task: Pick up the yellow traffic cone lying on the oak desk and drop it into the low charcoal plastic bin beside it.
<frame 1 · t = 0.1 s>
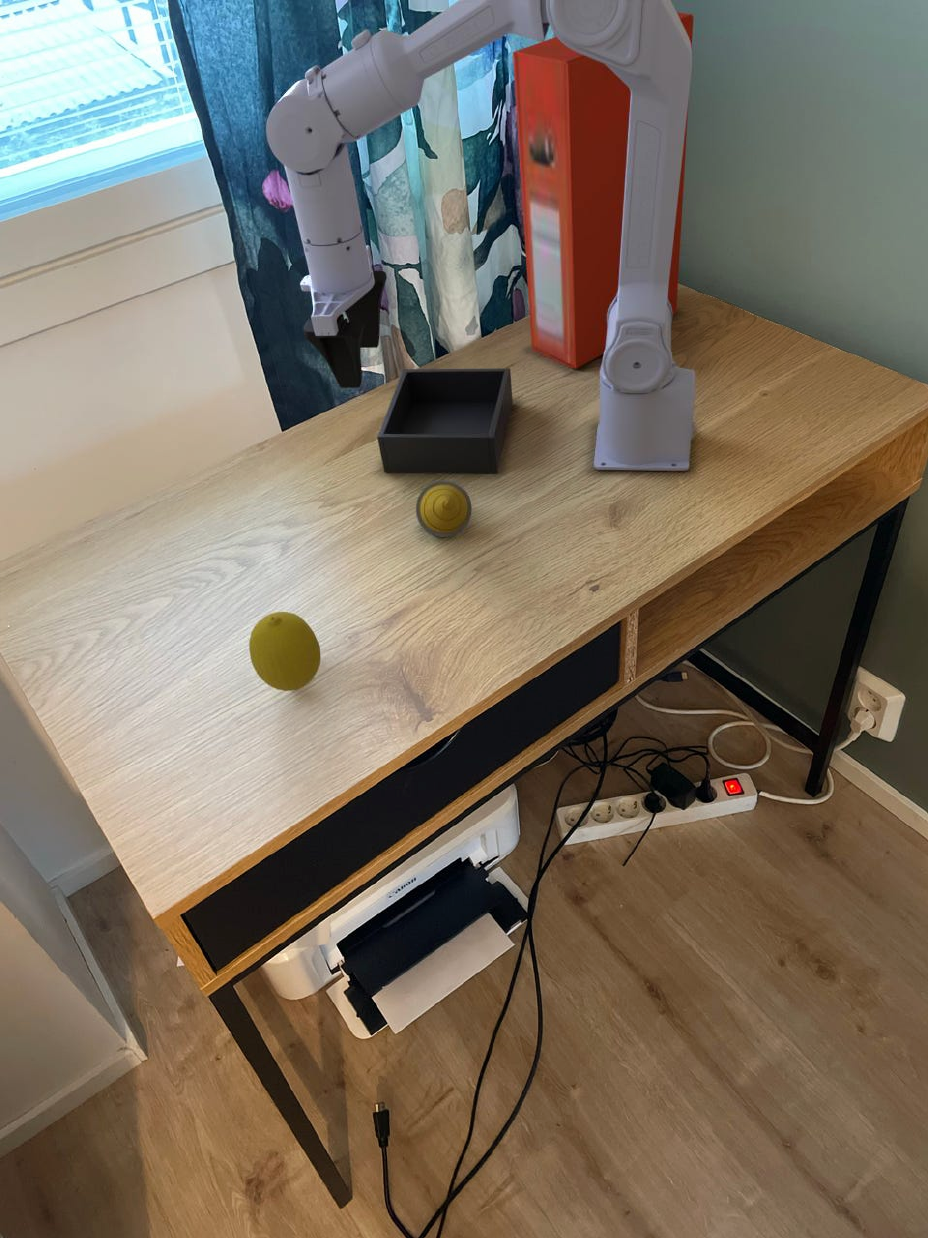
hand: (360, 365, 92), 10 cm above the table, tool pointing down, fingers open, 7 cm apart
lemon: (297, 685, 76), on the table
yellow traffic cone: (453, 533, 88), on the table
bin: (450, 436, 99), on the table
file binder: (603, 332, 111), on the table
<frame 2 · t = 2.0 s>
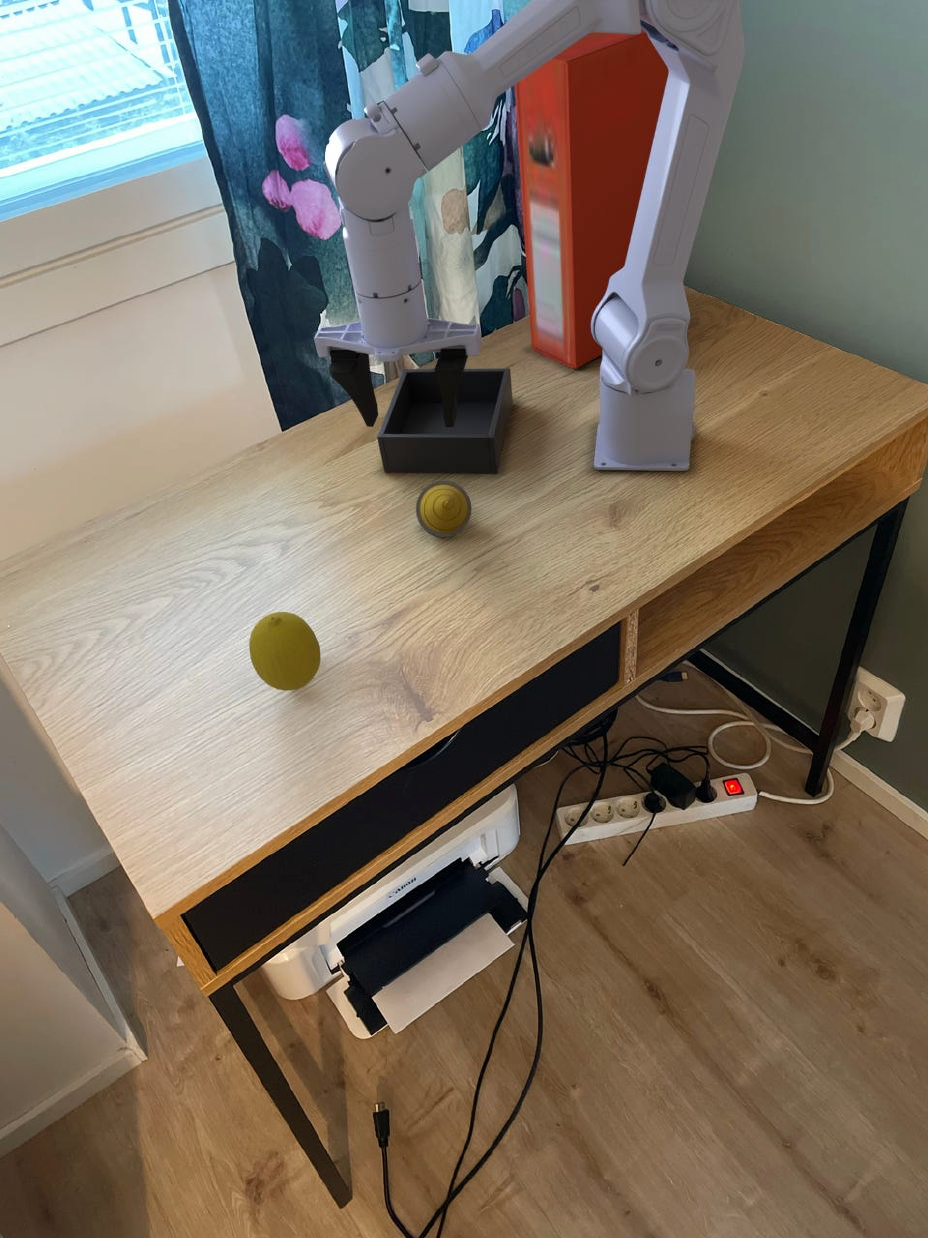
hand: (411, 421, 84), 10 cm above the table, tool pointing down, fingers open, 7 cm apart
nothing on the table moved.
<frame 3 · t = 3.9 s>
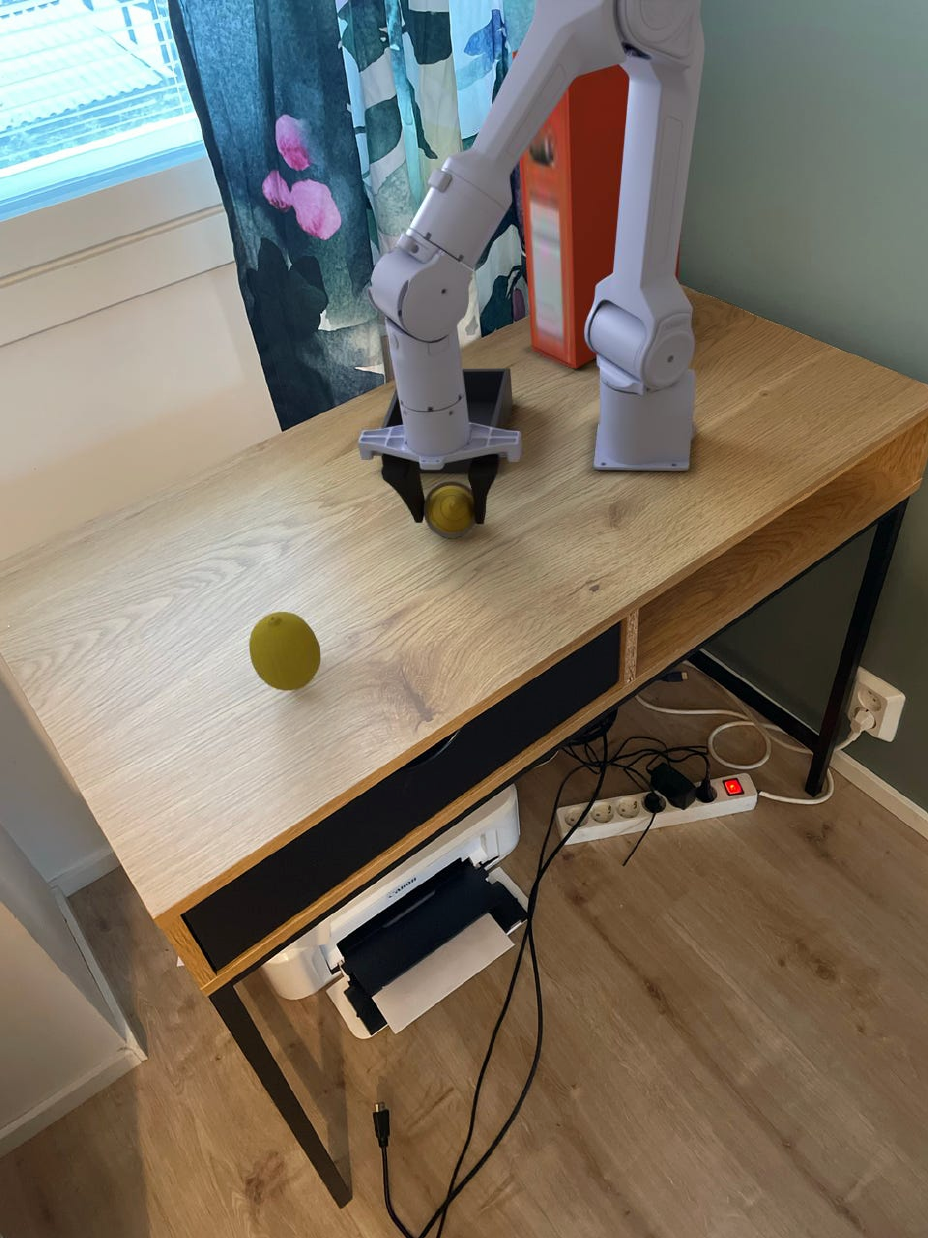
hand: (450, 517, 86), 2 cm above the table, tool pointing down, fingers closed on yellow traffic cone, 5 cm apart
yellow traffic cone: (460, 534, 87), on the table, touching gripper
everything else where it was.
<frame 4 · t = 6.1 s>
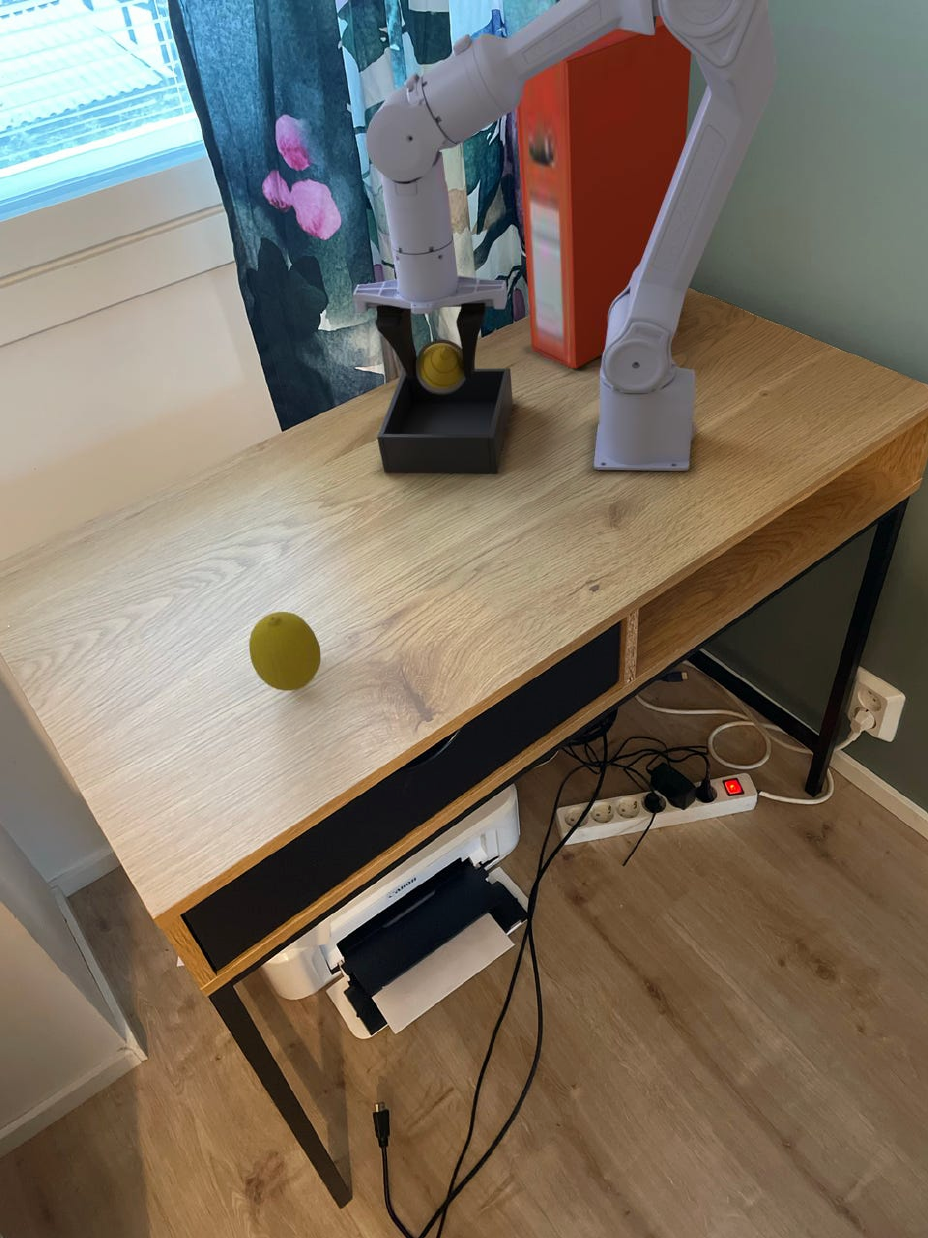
hand: (440, 373, 91), 9 cm above the table, tool pointing down, fingers closed on yellow traffic cone, 5 cm apart
yellow traffic cone: (450, 392, 93), point 7 cm above the table, touching gripper
everything else where it was.
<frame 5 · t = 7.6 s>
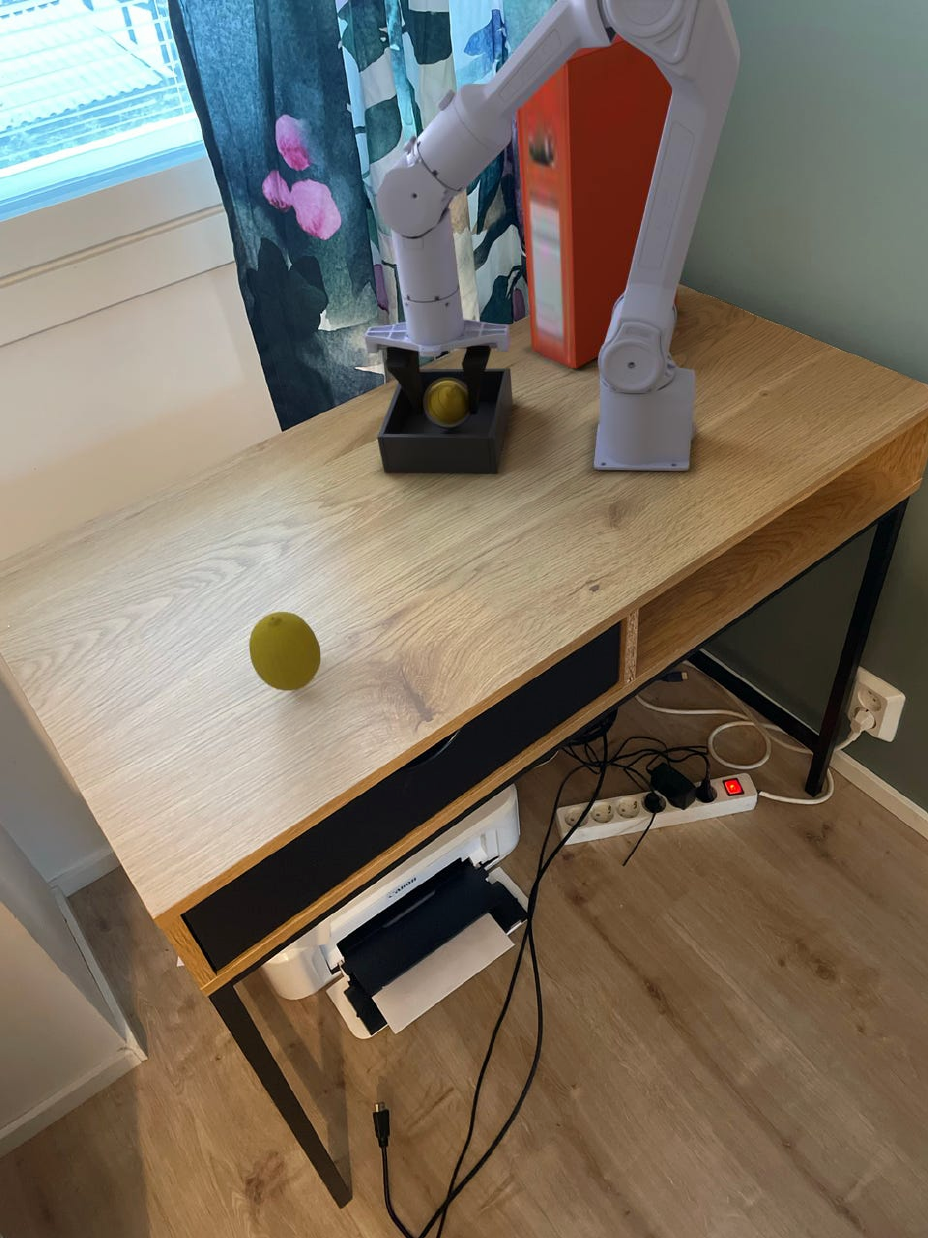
hand: (446, 409, 96), 4 cm above the table, tool pointing down, fingers closed on yellow traffic cone, 5 cm apart
yellow traffic cone: (456, 426, 98), point 1 cm above the table, touching gripper
everything else where it was.
when the fingers open (2 cm above the table, at t = 8.5 s): yellow traffic cone stays where it is, resting on bin.
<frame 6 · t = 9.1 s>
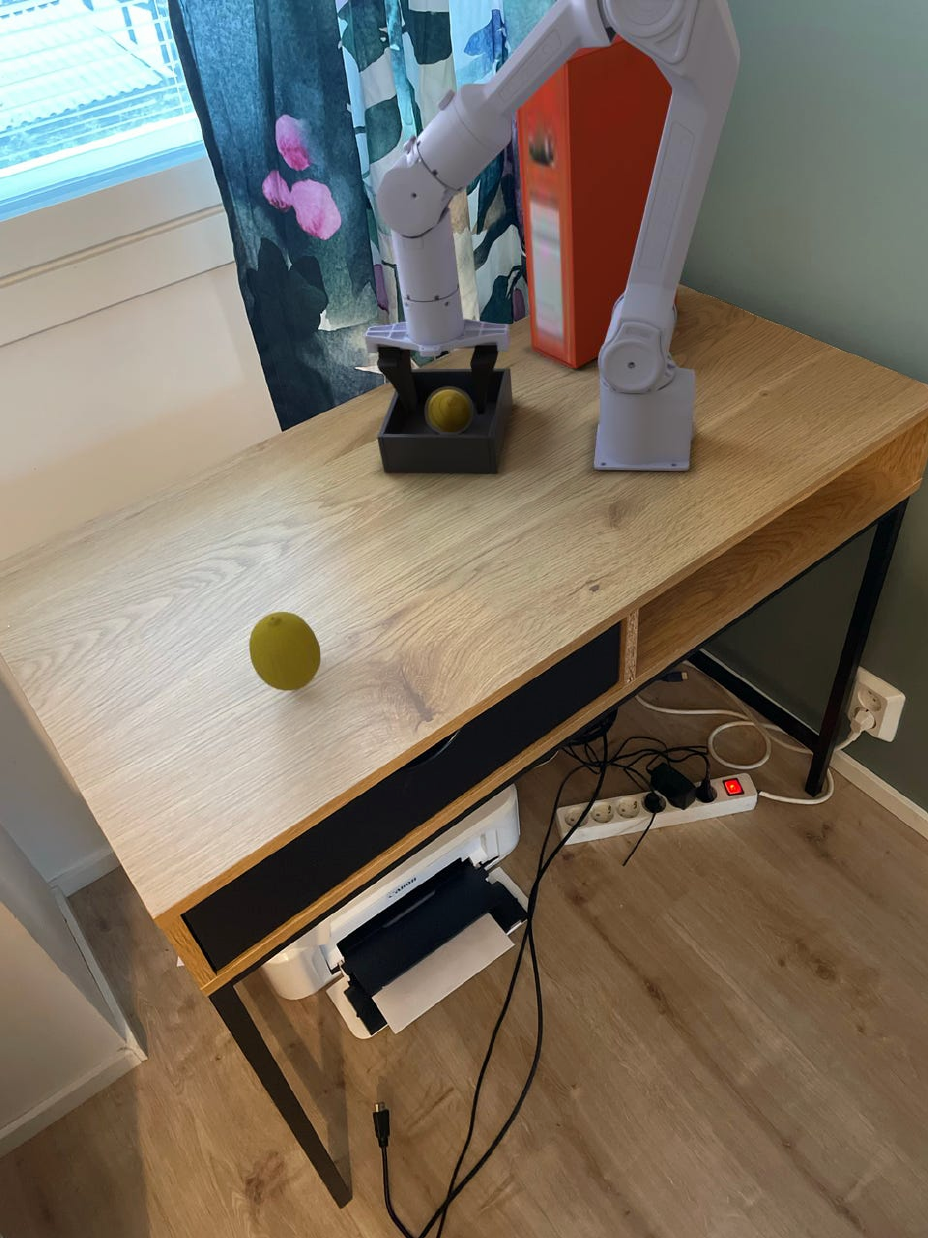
hand: (447, 409, 96), 4 cm above the table, tool pointing down, fingers open, 7 cm apart
yellow traffic cone: (457, 434, 98), resting on bin
everything else where it was.
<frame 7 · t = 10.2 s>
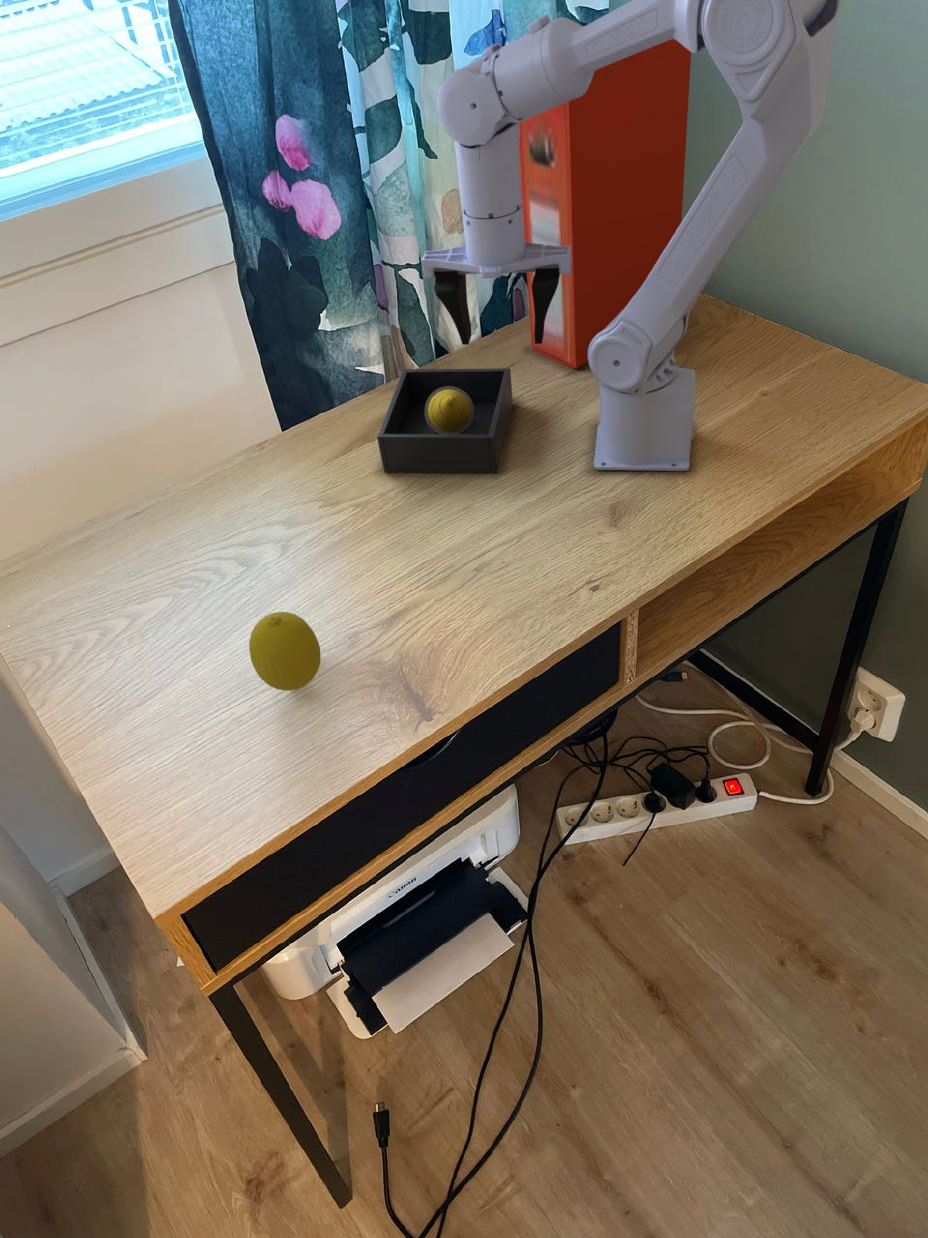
hand: (502, 339, 94), 9 cm above the table, tool pointing down, fingers open, 7 cm apart
nothing on the table moved.
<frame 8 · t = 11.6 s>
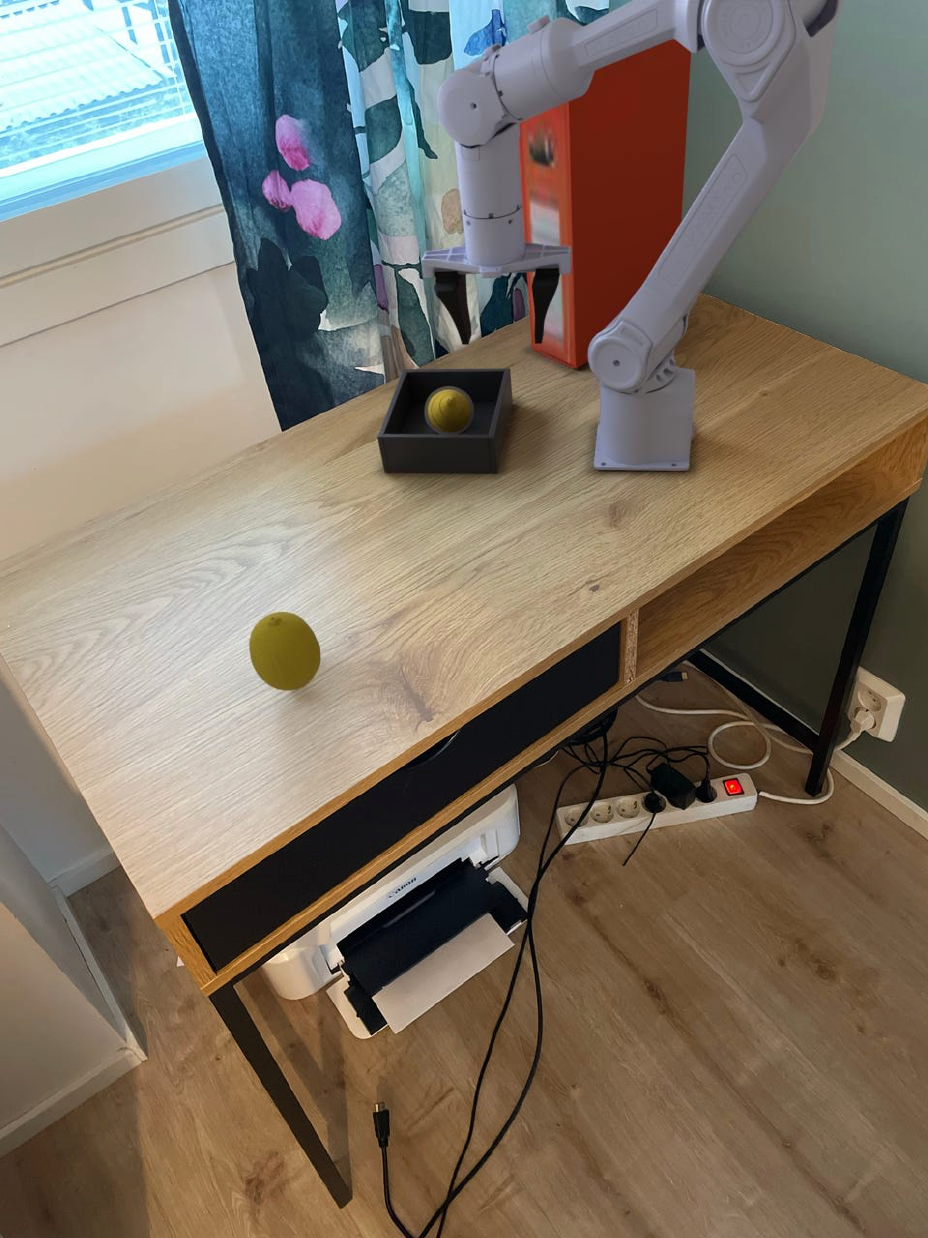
hand: (502, 339, 94), 9 cm above the table, tool pointing down, fingers open, 7 cm apart
nothing on the table moved.
at the end: yellow traffic cone inside the target area in the bin (0.8 cm from its centre), point 0.3 cm above the bin's base; the gripper is holding nothing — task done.
